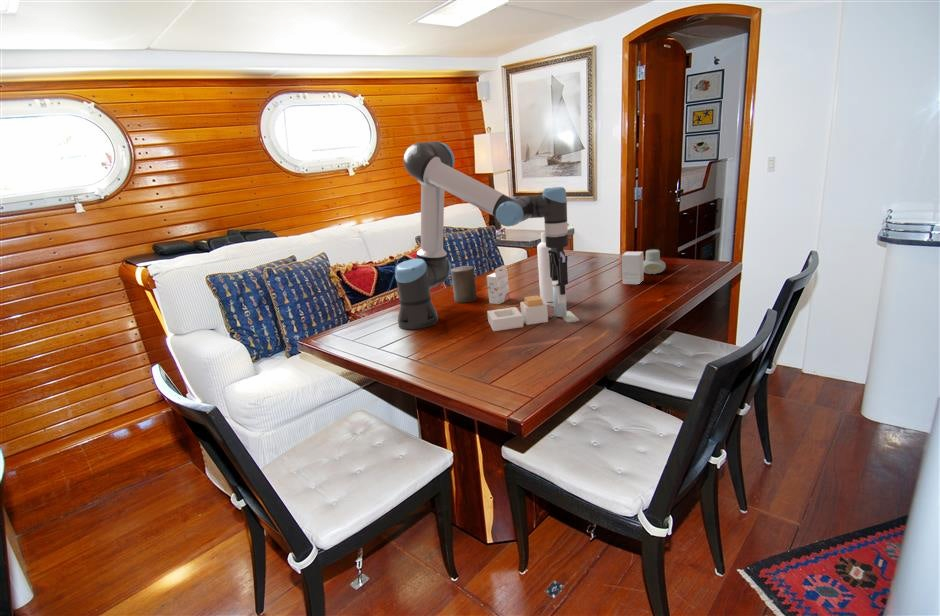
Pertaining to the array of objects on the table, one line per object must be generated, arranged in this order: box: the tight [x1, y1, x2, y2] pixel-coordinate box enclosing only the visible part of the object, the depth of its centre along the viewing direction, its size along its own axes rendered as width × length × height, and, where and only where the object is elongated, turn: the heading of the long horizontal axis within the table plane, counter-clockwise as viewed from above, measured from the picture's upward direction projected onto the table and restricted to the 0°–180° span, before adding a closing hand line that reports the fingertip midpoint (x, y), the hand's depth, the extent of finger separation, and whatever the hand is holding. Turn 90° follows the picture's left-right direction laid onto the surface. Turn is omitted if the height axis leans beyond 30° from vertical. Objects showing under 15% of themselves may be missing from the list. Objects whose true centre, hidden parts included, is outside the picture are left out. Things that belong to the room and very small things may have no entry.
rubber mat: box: [561, 310, 580, 323], centre depth 170 cm, size 10×10×1 cm
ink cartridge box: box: [486, 264, 510, 305], centre depth 196 cm, size 9×5×15 cm, turn 143°
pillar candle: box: [450, 265, 478, 304], centre depth 203 cm, size 10×10×15 cm
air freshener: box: [643, 249, 667, 275], centre depth 213 cm, size 11×8×10 cm
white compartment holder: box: [486, 300, 549, 332], centre depth 168 cm, size 20×10×7 cm, turn 98°
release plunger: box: [523, 295, 542, 307], centre depth 168 cm, size 5×5×8 cm
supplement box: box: [621, 251, 644, 285], centre depth 202 cm, size 7×7×13 cm
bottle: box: [536, 231, 554, 308], centre depth 183 cm, size 8×8×28 cm
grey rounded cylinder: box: [552, 280, 568, 318], centre depth 168 cm, size 5×5×12 cm
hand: (559, 300), depth 168 cm, fingers closed on grey rounded cylinder, 5 cm apart
